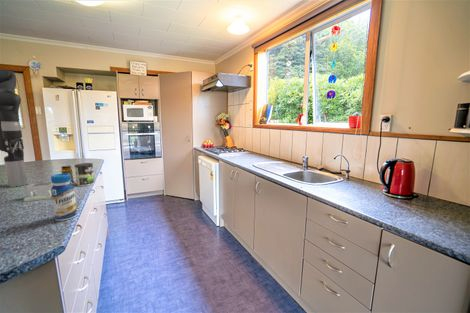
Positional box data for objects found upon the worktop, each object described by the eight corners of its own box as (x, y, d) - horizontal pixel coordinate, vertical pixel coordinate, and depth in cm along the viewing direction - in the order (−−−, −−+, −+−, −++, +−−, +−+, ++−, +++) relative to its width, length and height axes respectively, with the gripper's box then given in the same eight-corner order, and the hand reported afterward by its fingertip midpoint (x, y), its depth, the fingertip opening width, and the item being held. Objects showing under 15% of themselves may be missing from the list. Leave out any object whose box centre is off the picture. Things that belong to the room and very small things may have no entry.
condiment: (60, 183, 152) (58, 166, 150) (73, 180, 159) (71, 164, 157) (65, 184, 149) (63, 167, 147) (79, 181, 156) (77, 165, 154)
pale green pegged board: (23, 201, 117) (22, 193, 116) (33, 195, 127) (32, 187, 126) (55, 198, 122) (54, 190, 121) (62, 192, 132) (61, 185, 131)
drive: (58, 191, 128) (56, 181, 127) (54, 194, 124) (53, 184, 123) (33, 194, 124) (31, 183, 123) (28, 196, 120) (26, 186, 119)
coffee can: (98, 182, 153) (96, 163, 151) (85, 186, 143) (83, 166, 141) (86, 181, 155) (84, 162, 153) (73, 185, 145) (70, 165, 143)
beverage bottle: (74, 211, 104) (69, 171, 100) (80, 216, 98) (75, 174, 95) (52, 217, 97) (46, 175, 94) (57, 223, 92) (50, 178, 89)
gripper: (13, 130, 114) (18, 160, 117) (26, 129, 127) (30, 155, 130) (-6, 130, 111) (-1, 160, 114) (9, 128, 124) (14, 156, 127)
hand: (16, 158), depth 122 cm, fingers open, 8 cm apart
